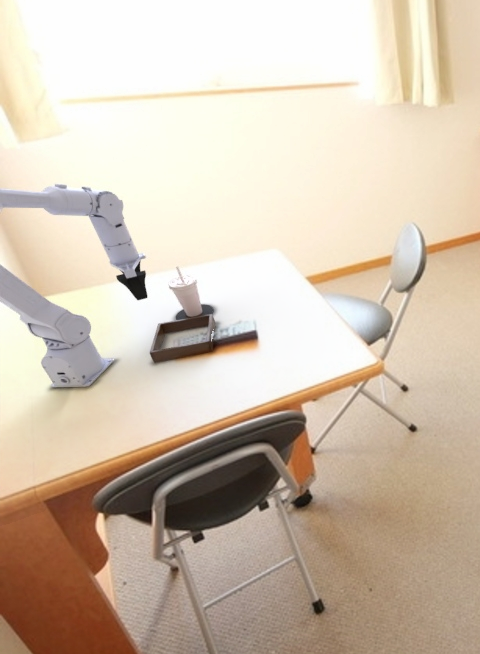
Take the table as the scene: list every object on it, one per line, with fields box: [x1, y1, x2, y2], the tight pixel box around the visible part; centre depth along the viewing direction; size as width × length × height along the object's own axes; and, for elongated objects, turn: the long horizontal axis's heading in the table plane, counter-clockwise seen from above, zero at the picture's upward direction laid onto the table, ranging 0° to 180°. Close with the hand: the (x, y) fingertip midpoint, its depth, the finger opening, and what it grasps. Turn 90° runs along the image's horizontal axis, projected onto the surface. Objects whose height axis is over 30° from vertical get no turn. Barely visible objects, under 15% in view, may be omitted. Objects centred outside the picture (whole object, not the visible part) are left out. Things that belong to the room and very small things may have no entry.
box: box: [149, 313, 217, 364], centre depth 120 cm, size 13×12×3 cm
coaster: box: [175, 303, 214, 320], centre depth 131 cm, size 9×9×1 cm
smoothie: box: [167, 266, 202, 317], centre depth 127 cm, size 6×6×14 cm
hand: (140, 292), depth 120 cm, fingers open, 7 cm apart
